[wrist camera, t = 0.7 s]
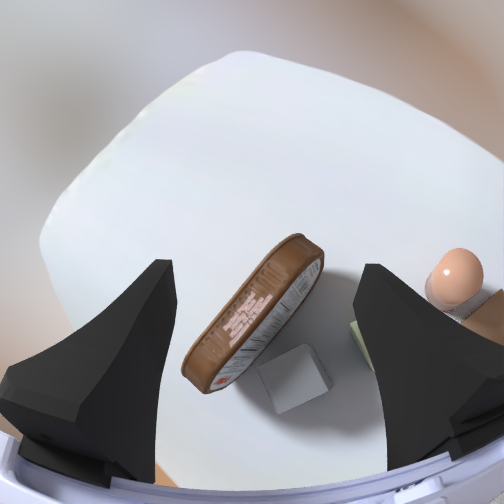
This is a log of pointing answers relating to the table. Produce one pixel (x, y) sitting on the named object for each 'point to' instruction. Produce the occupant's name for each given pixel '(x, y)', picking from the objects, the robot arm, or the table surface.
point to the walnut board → (489, 319)
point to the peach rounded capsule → (454, 279)
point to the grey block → (294, 378)
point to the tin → (254, 314)
